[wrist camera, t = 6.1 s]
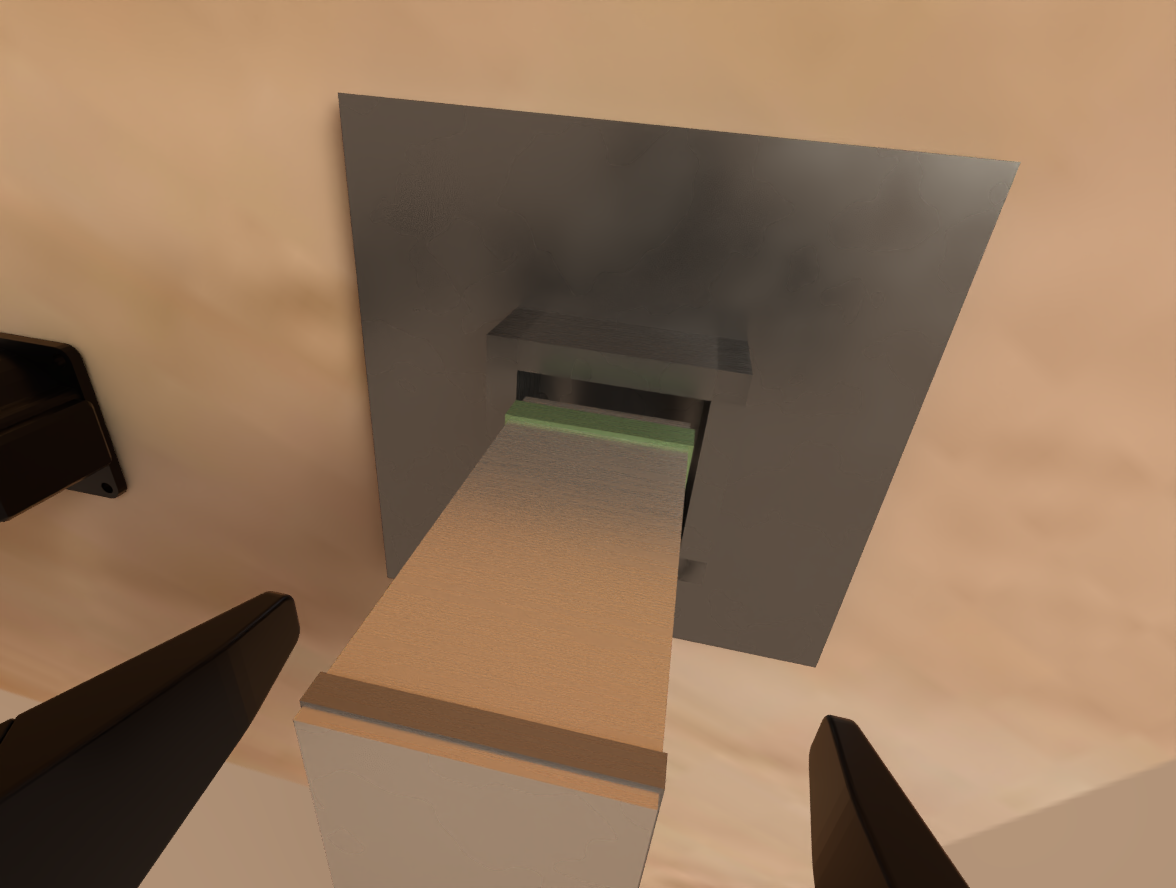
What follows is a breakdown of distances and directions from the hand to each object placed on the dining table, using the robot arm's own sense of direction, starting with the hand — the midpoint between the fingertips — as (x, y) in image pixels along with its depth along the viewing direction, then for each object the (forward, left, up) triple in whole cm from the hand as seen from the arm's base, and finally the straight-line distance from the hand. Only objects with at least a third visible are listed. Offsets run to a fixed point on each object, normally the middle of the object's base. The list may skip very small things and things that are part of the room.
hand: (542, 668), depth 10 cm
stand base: (0, 0, -10) cm, 10 cm away
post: (0, 0, -6) cm, 6 cm away
